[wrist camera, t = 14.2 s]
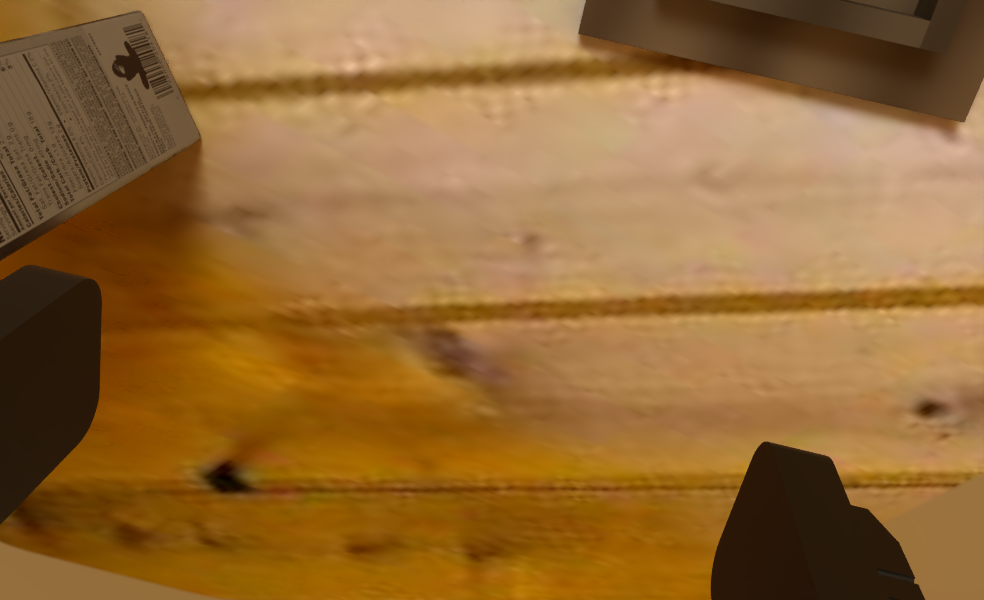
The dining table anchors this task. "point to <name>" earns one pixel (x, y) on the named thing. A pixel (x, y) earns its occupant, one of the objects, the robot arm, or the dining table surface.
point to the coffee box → (82, 121)
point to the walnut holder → (819, 43)
